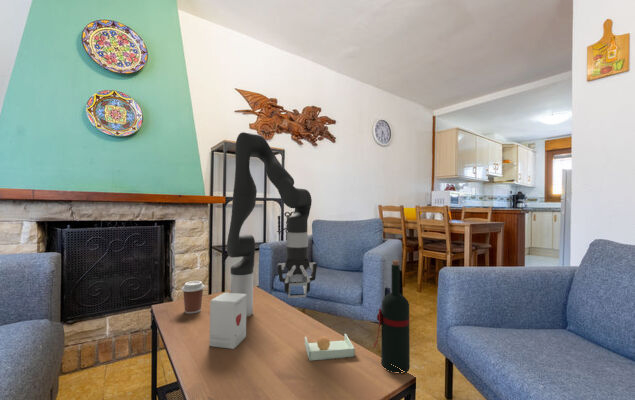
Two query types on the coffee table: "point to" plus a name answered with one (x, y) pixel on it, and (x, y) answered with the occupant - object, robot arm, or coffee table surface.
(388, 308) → the wine bottle
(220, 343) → the supplement box
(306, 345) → the tray
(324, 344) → the ball
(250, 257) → the robot arm
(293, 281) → the grey hollow box
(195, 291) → the coffee cup
